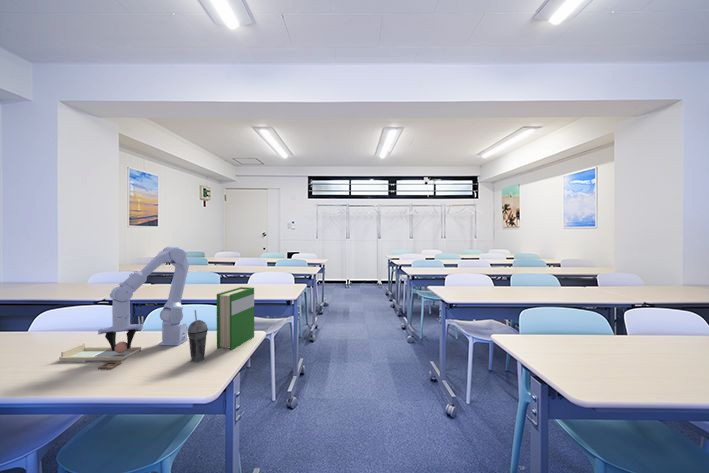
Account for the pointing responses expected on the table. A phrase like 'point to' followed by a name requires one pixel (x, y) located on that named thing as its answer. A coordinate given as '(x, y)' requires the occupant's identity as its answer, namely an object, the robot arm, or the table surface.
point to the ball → (120, 347)
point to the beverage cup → (197, 339)
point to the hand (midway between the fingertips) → (121, 349)
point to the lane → (96, 354)
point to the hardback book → (235, 317)
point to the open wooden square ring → (105, 366)
